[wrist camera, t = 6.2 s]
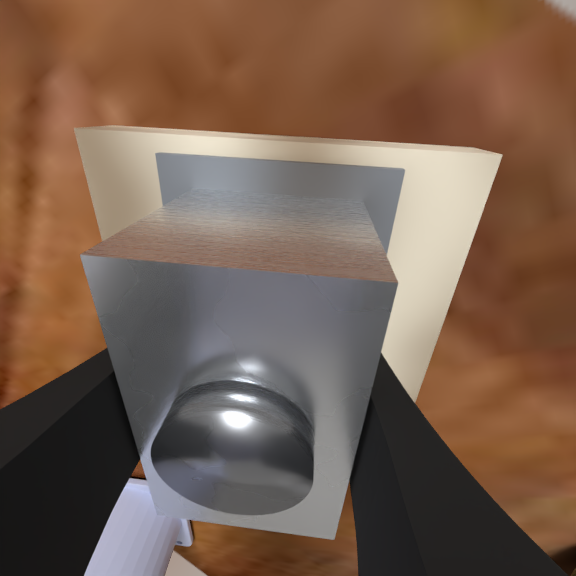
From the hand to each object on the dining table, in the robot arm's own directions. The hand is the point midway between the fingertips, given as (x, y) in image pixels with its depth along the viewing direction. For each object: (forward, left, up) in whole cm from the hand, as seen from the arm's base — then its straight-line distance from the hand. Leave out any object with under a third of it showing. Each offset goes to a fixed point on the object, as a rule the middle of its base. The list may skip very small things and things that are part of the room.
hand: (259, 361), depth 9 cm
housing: (0, 0, -3) cm, 3 cm away
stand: (0, 0, -5) cm, 5 cm away
